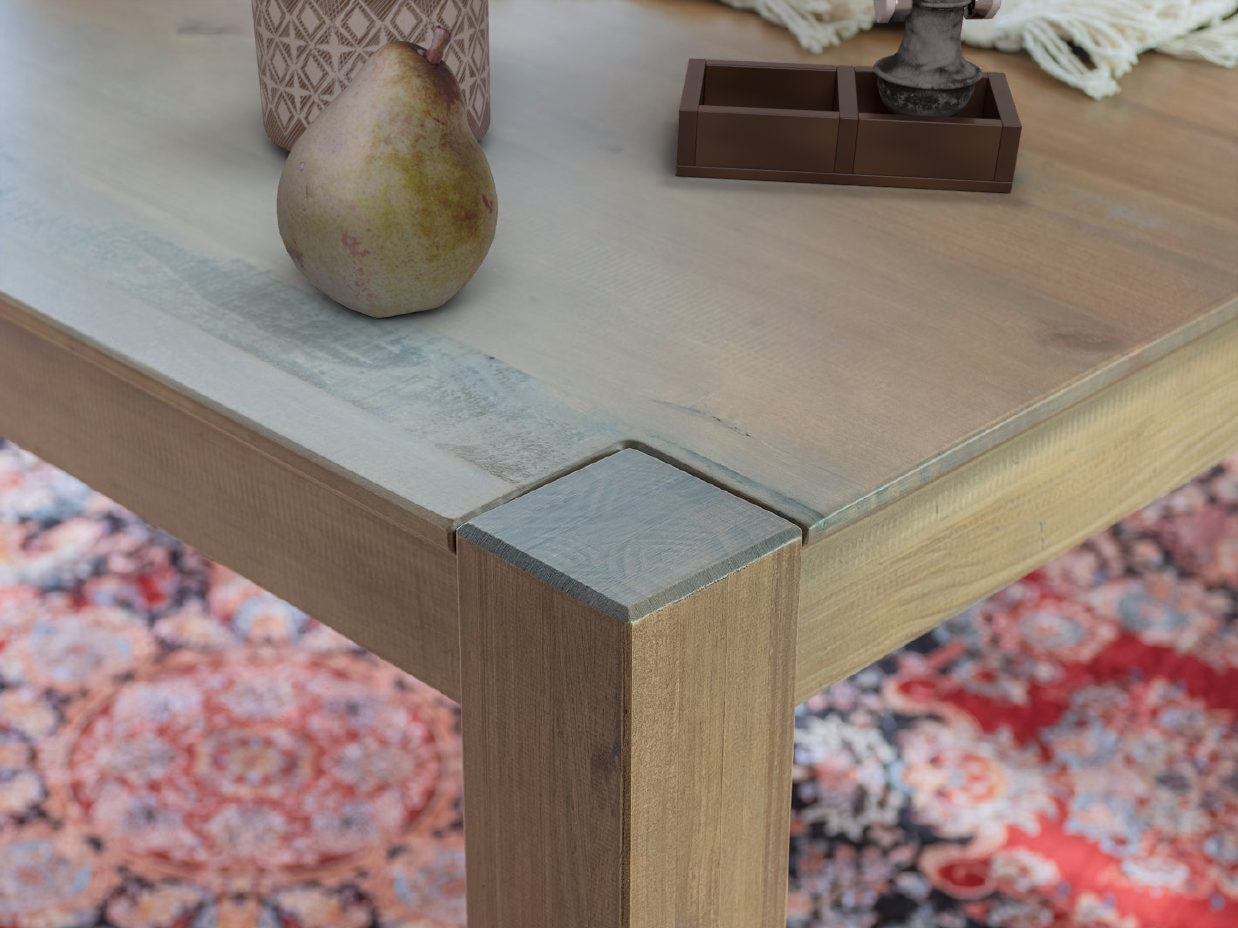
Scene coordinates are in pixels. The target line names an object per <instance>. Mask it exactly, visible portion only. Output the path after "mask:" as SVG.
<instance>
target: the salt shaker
mask: <svg viewBox="0 0 1238 928" xmlns="http://www.w3.org/2000/svg"><path fill="white" fill-rule="evenodd" d="M970 2H971V0H913V5H912V11H911V13H910V14H909V15H907V19H906V21H905V26H904V32H903V36H902V39H901V42H900V45H899V47H898V49H897V51H896V52H895V53H893V54H891V55H887V56H884V57H882V58H880V59H878V60H876V61H875V63H874V65H873V66H872V67H873V69H874V73H875V74H876V75H877V76H878V82H877V85H878V89H879V93H880V97H881V100H882V102H883V103H884V105H885V106H886V107H887V108H888V110H889V111H890V112H891V113H893V114H895V115H913V116H934V117H954V116H955V115H956V114H958V113H959V112H960V111H961V110H963V109H964V108H965V107H966V105H967V103H968V102H969V100H970V98H971V96H972V94H973V92H974V88H975V83H977V82H978V81H980V80H981V78H982V75H983V73H982V72H983V71H982V69H981V68H980V67H979V66H978V65H977V64H975V63H973V62H971V61H968V60H967V59H965V57H964V56H963V50H962V31H963V30H962V29H963V23H964V9H965V6H966V5H967V4H969V3H970Z"/></svg>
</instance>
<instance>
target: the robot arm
mask: <svg viewBox="0 0 1238 928" xmlns="http://www.w3.org/2000/svg"><path fill="white" fill-rule="evenodd" d="M872 3H873V9H874V16H875V20H876V23H878V24H886V23H887V24H890V23H891V24H892V23H906V19H907V15H909V14H910V13H911V11H912V5H913V0H872ZM1001 5H1002V0H971V2H970V3H969V4H967V5H966V6H965V9H964V16H963V19H965V20H966V21H967V20H968V21H969V20H971V21H972V20H974V21H975V20H976V21H977V20H993V19H994V18H995V16H996V15H997V13H998V12H999V10H1000V9H1001Z"/></svg>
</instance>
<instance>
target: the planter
mask: <svg viewBox="0 0 1238 928" xmlns="http://www.w3.org/2000/svg"><path fill="white" fill-rule="evenodd" d="M250 2H251V10H252V11H251V12H252V22H253V23H252V24H253V32H254V43H255V52H256V63H257V71H258V72H257V73H258V83H259V92H260V102H261V103H260V104H261V112H262V113H261V115H262V123H263V129H264V132H265V133H266V135H267V137H268V138H269V139H270V141H272V142H273V143H274V144H276V146H278V147H280V148H282V149H284V150H286V151H288V152H290V151H291V149H292V147H293V146H294V144H295V143H296V141H297V140H298V138H299V137H300V136H301V135H302V134H303V132H304V131H305V130H306V129H307V127H308V126H309V125H310V124H311V122H312V121H313V120H314V119H315V118H316V117H317V116H318V115H319V113H321V112H322V111H323V110H324V109H325V108H326V107H327V106H328V105H329V104H330V103H331V102H332V101H333V100H334V99H335V98H336V97H337V96H338V95H339V94H340V93H341V92H342V91H343V90H344V89H345V88H346V87H347V86H348V85H349V84H350V82H351V81H352V80H353V79H354V77H355V76H356V75H357V73H358V72H359V71H360V69H361V68H362V66H363V65H364V64H365V62H366V61H367V60H368V59H369V57H370V56H371V55H372V54H373V53H374V52H375V51H377V50H378V49H379V48H381V47H382V46H384V45H386V44H388V43H391V42H395V41H407V42H411V43H414V44H417V45H419V46H421V47H423V48H425V49H427V50H428V49H429V48H430V47H431V45H432V40H433V38H434V29H435V27H436V26H437V25H440V27H441V28H444V29H447V30H448V32H449V33H450V34H451V36H452V38H451V41H450V42H449V44H448V45H447V47H446V48H445V50H444V52H443V54H444V56H443V58H442V60H443V61H444V62H445V63H446V64H447V65H448V66H449V67H450V68H451V70H452V71H453V73H454V75H455V76H456V79H457V81H458V83H459V86H460V88H461V91H462V93H463V97H464V101H465V108H466V115H467V121H468V125H469V127H470V129H471V132H472V134H473V136H474V137H475V139H476V140H477V142H478V141H480V140H481V139H482V138H483V137H484V136H485V135H486V134H487V132H488V130H489V128H490V125H491V69H490V20H489V19H490V17H489V15H490V14H489V13H490V11H489V0H250Z"/></svg>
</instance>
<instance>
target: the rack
mask: <svg viewBox="0 0 1238 928" xmlns="http://www.w3.org/2000/svg"><path fill="white" fill-rule="evenodd" d="M685 73H686V74H685V77H684V81H683V82H684V83H683V86H682V87H683V88H682V93H681V97H680V103H679V108H678V120H677V121H678V123H677V141H676V142H677V143H676V144H677V145H676V162H675V163H676V166H675V176H677V177H695V178H713V179H730V180H731V179H733V180H751V181H752V180H754V181H770V182H771V181H772V182H791V183H808V184H810V183H812V184H827V185H828V184H829V185H830V184H831V185H847V186H848V185H851V186H867V187H868V186H869V187H886V188H887V187H889V188H908V189H926V190H947V191H966V192H967V191H968V192H984V193H985V192H986V193H987V192H988V193H1006V194H1011V193H1012V189H1013V182H1014V177H1015V173H1016V172H1015V171H1016V165H1017V159H1018V154H1019V148H1020V143H1021V142H1020V141H1021V137H1022V136H1021V135H1022V129H1023V125H1022V122H1021V119H1020V116H1019V113H1018V110H1017V107H1016V104H1015V101H1014V97H1013V95H1012V91H1011V89H1010V85H1009V82H1008V79H1007V77H1006V73H1005V72H999V71H982V73H983V75H982V78H981V80H980V81H978V82H977V83H975V88H974V92H973V94H972V96H971V98H970V100H969V102H968V103H967V105H966V107H965V108H964V109H963V110H961V111H960V112H959V113H958V114H956V115H955V116H954V117H934V116H913V115H895V114H893V113H891V112H890V111H889V110H888V108H887V107H886V106H885V105H884V103H883V102H882V100H881V97H880V93H879V89H878V85H877V82H878V76H877V75H876V74H875V73H874V69H873V66H865V65H842V64H837V65H835V64H821V63H820V64H819V63H799V62H798V63H795V62H775V61H774V62H771V61H750V60H730V59H709V58H708V59H707V58H693V57H692V58H688V62H687V67H686V71H685Z"/></svg>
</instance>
